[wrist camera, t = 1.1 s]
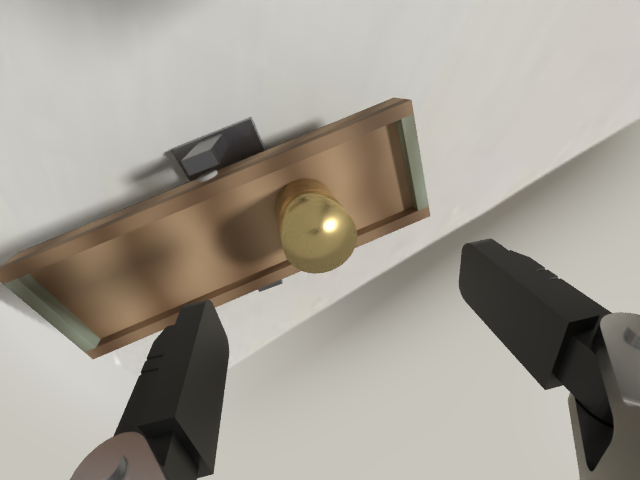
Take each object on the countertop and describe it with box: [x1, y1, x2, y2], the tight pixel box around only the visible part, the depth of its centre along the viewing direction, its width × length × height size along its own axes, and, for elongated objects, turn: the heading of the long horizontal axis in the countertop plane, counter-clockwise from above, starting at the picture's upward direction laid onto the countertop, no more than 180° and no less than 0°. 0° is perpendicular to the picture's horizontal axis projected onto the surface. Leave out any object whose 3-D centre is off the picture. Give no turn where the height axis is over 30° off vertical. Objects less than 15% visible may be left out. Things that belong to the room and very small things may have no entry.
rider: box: [274, 178, 357, 273], centre depth 22 cm, size 5×5×6 cm
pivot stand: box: [171, 117, 282, 292], centre depth 29 cm, size 8×14×8 cm, turn 19°
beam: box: [0, 98, 430, 359], centre depth 25 cm, size 32×10×3 cm, turn 109°
